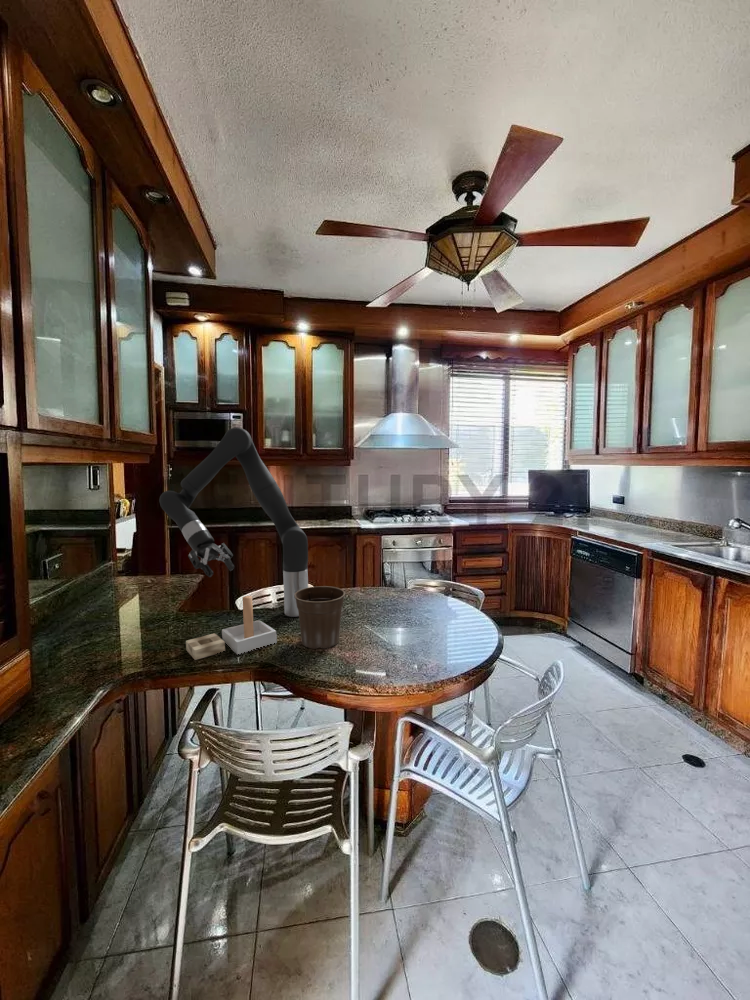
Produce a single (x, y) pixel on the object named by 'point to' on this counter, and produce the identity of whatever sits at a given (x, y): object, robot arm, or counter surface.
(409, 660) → the counter surface
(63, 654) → the counter surface
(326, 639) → the plant pot
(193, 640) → the dowel holder
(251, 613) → the dowel
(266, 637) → the tray
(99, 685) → the counter surface
